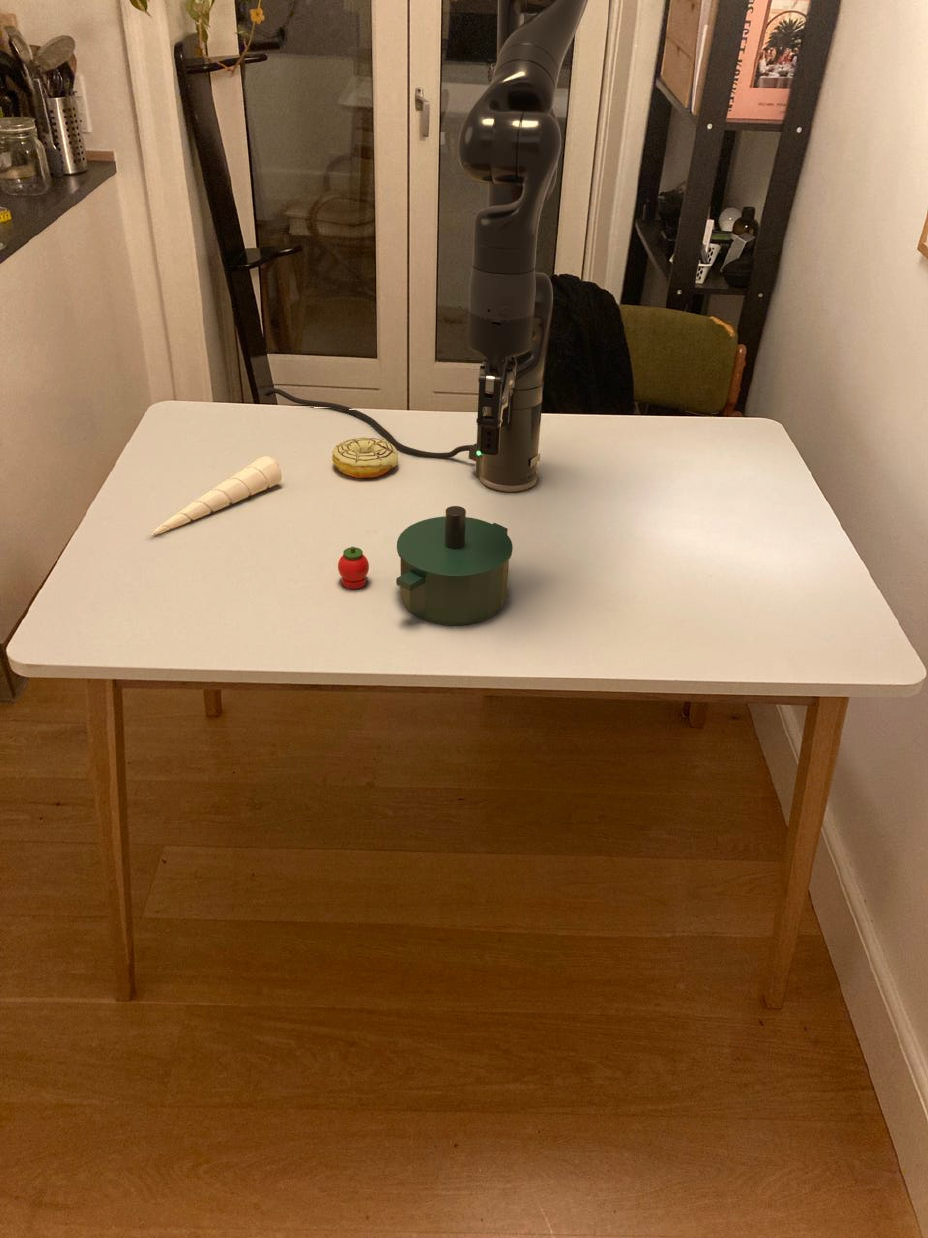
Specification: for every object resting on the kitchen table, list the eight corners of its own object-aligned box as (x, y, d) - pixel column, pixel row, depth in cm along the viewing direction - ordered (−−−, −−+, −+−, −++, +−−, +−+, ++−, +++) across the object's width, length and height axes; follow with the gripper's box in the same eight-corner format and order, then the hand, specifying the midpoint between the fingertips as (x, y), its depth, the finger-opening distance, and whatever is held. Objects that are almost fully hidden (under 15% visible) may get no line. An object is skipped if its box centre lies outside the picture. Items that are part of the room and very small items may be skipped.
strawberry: (332, 582, 135) (330, 547, 132) (354, 571, 137) (353, 536, 134) (353, 594, 133) (352, 559, 129) (375, 582, 135) (375, 547, 132)
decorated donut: (409, 472, 163) (409, 451, 161) (352, 487, 158) (352, 466, 156) (378, 448, 170) (377, 428, 168) (322, 462, 165) (321, 441, 163)
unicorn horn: (137, 528, 145) (132, 499, 142) (266, 477, 160) (263, 450, 157) (155, 540, 143) (150, 510, 140) (284, 487, 157) (282, 460, 155)
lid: (372, 552, 128) (371, 511, 125) (449, 511, 138) (450, 472, 135) (460, 596, 120) (461, 554, 117) (535, 550, 130) (538, 509, 127)
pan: (364, 604, 131) (363, 556, 126) (460, 549, 143) (462, 503, 139) (444, 648, 123) (445, 598, 119) (538, 585, 136) (542, 539, 131)
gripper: (478, 286, 118) (474, 413, 127) (457, 323, 106) (454, 460, 115) (541, 291, 117) (531, 419, 126) (526, 329, 105) (517, 467, 114)
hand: (494, 438), depth 121 cm, fingers open, 8 cm apart
